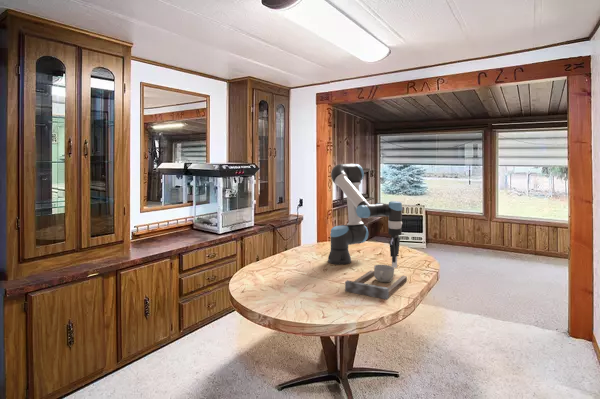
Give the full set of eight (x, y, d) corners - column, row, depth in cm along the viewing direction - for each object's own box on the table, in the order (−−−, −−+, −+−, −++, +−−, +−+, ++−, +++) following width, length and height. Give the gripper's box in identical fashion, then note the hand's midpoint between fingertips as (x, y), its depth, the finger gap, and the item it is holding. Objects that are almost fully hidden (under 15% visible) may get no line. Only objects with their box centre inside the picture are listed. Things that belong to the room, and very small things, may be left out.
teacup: (378, 276, 211) (378, 263, 210) (396, 279, 205) (397, 265, 204) (368, 283, 200) (368, 269, 199) (387, 287, 193) (387, 272, 193)
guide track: (345, 291, 188) (345, 281, 187) (369, 274, 215) (369, 266, 214) (386, 299, 176) (386, 289, 175) (407, 280, 203) (407, 272, 202)
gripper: (397, 230, 208) (397, 270, 210) (404, 226, 218) (404, 265, 221) (384, 229, 212) (384, 269, 214) (392, 225, 222) (391, 263, 225)
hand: (394, 267), depth 217 cm, fingers closed
